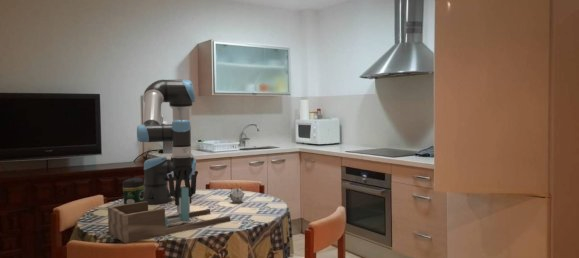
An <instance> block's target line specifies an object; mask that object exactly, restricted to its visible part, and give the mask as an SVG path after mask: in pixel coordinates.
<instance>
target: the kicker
mask: <svg viewBox="0 0 579 258" xmlns="http://www.w3.org/2000/svg"><path fill="white" fill-rule="evenodd" d="M179 197H180V198H181V210H182V213H181V214H179V213H177V215H178V217H176V218H171V219H168V217H167V216H166V215H165V228H169V227H168V226H169V225H172V224H177V223H185V222H189V221H190V218H189V193H188V187H185V186H181V188H180V196H179Z"/></svg>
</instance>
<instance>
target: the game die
mask: <svg viewBox="0 0 579 258" xmlns="http://www.w3.org/2000/svg"><path fill="white" fill-rule="evenodd" d="M241 188H242V187H241V186H240V187H239V188H233V187H231V188H230V189H231V190H230V194H229V195H228V196H227V197H228V198H230V200H231V201H232V202H231V203H232V204H234V203H241V204H242V203H243V199H244V195H246V193H245V192H244V191H243V190H242V189H241Z"/></svg>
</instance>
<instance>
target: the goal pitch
mask: <svg viewBox="0 0 579 258" xmlns="http://www.w3.org/2000/svg"><path fill="white" fill-rule="evenodd" d="M206 215H211V209H209V208H207V209H201V210H196V211H190V212H189V219H190V218H195V217H200V216H206ZM165 216H166V209H165V208H164V207H163V208H157V209H150V210H149V204H148V202H147V201H144V202H138V203H131V204H124V203H123V204H118V205H112V206H107V220H108V222H107V224H108V233H110V234H111V235H112V236H113V237H115V238H116V239H118V240H119V241H121V242H122V243H123V244H126V243H130V242H131V243H132V242H137V241H140V240H142V241H143V240H147V239H150V238H157V237H161V236H166V235H171V234H175V233H179V232H185V231H188V230H195V229H199V227H200V228H203V227H208V226H213V225H218V224H223V223H227V222H231V216H230V215H227V216H222V217H216V218H211V219H206V220H201V221H196V222H191V223H186V224H181V225H177V226H171V227H168V228H165ZM166 217H168V219H171V218H176V217H178V214H175V215H173V214H172V215H167V216H166Z"/></svg>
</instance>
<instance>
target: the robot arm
mask: <svg viewBox="0 0 579 258" xmlns="http://www.w3.org/2000/svg"><path fill="white" fill-rule="evenodd" d="M142 97H143V98H142V99H143V102H144V108H143V121H142V124H139V125H137V126H136V139H137V141H138V143H155V142H156V143H158V142H159V143H160V142H162V143H163V142H164V143H165V142H172V154H171V155H170V159H168V158H167V156H159V157H154V158H153V157H152V158H149V159H146V160H144V162H143V174H144V175H143V176H144V179H143V180H144V201H147V202H148V205H159V204H160V205H161V204H165V203H169V202H171V201H172V198H174V205H175V206H176V213H177V214H178V213H179V214H181V213H182V210H181V198H180V197H179V196H180V188H181V187H182V181H184V187H188V193H189V212H191V208H190V206H191V204H192V197H193V195H196V192H197V191H196V190H197V176H198V173H199V171H198V170H196V169H197V168H196V167H197V165H196V164H197V158H194V154H193V153H192V143H191V142H192V141H191V140H192V139H191V137H192V136H191V134H192V132H191V129H192V126H191V121H190V118H191V117H190V116H191V115H190V109H191V108H192V107H193V103H195V102H196V99H195V90H194V85H193V82H192V80H189V79H158V80H155V81H154V82H152V83H151V84H149V85H148V86H147V87H146V88H145V89H144V92H143V96H142ZM163 103H169V105H168V106H169V107H170V108H171V109H172V122H171V123H170V124H169V123H168V124H161V123H162V122H161V121H162V104H163Z"/></svg>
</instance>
